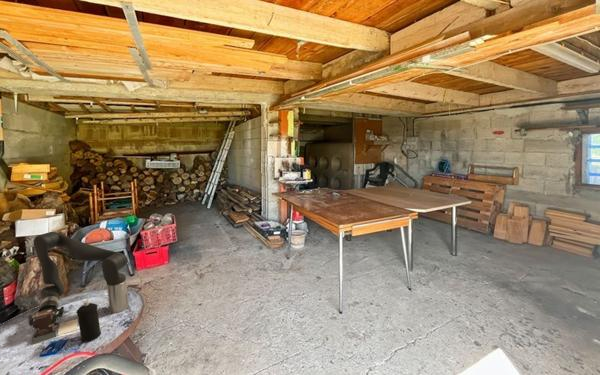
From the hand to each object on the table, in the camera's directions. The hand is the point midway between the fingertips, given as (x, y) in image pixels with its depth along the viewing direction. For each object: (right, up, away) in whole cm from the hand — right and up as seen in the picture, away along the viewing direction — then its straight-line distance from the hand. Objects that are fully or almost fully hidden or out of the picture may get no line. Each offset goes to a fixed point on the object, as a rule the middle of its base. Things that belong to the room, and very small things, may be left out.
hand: (44, 324), depth 133 cm
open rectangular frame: (-2, -6, +3) cm, 7 cm away
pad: (+5, -6, +8) cm, 11 cm away
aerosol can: (+21, -8, +3) cm, 23 cm away
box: (-2, -7, +3) cm, 8 cm away
